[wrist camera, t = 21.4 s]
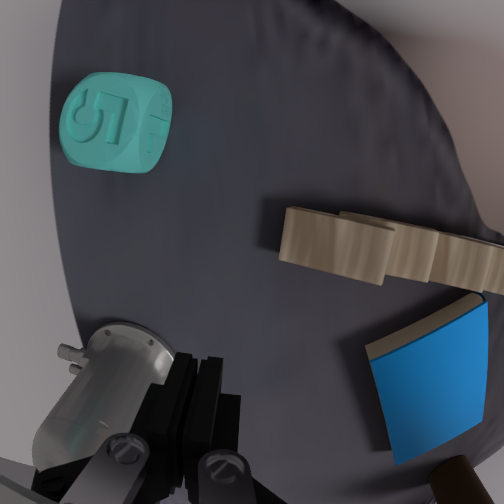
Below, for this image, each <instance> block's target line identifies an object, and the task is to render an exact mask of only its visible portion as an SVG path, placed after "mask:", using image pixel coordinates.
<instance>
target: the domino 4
mask: <svg viewBox="0 0 504 504" xmlns="http://www.w3.org/2000/svg"><path fill="white" fill-rule="evenodd" d="M445 233H448V232H445ZM449 234H452V233H449ZM453 235H456V234H453ZM457 236H460V235H457ZM461 237H464V236H461ZM465 238H467V237H465ZM469 239H471V238H469ZM473 240H475V239H473ZM477 241H479V240H477ZM481 242H482V241H481ZM485 243H486V242H485ZM489 244H490V243H489ZM490 245H492V246H493V247H494V250H493V254H492V258H491V262H490V266H489V270H488V274H487V277H486V281H485V284H484V288H483V290H486V291H490V292H494V293H498V294H502V295H504V247H500V246H497V245H493V244H490Z"/></svg>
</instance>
